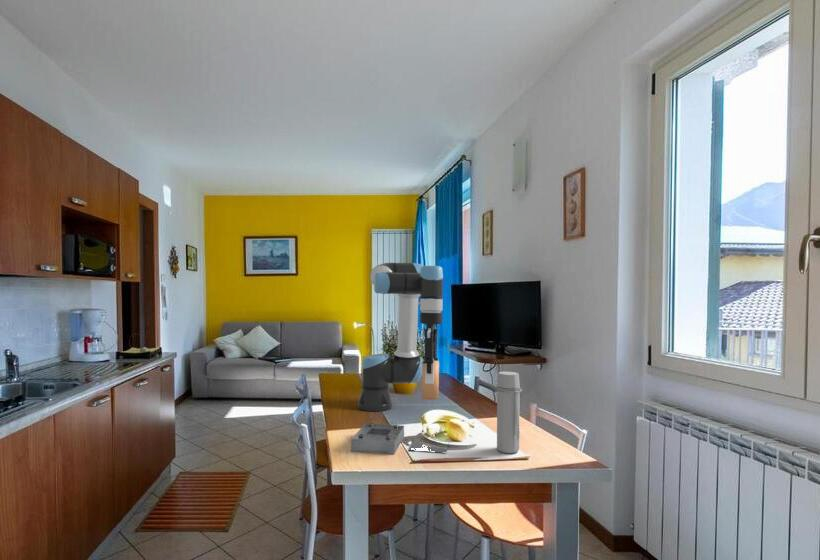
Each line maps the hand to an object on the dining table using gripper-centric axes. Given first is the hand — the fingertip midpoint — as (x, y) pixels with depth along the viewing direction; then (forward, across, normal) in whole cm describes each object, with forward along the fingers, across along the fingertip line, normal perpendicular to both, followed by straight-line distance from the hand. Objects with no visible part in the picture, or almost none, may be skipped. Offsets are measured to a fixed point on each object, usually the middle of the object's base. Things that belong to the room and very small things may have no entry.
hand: (430, 381), depth 153 cm
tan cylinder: (+5, 0, 0) cm, 5 cm away
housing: (+21, +1, -17) cm, 27 cm away
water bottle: (+22, 0, +26) cm, 34 cm away
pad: (+21, 0, 0) cm, 21 cm away
